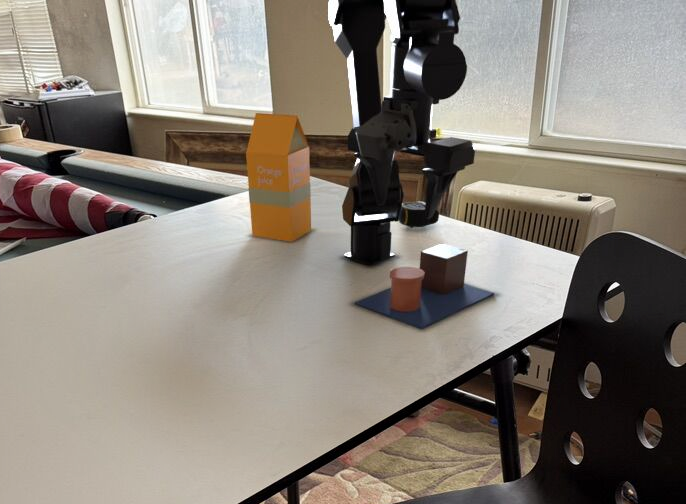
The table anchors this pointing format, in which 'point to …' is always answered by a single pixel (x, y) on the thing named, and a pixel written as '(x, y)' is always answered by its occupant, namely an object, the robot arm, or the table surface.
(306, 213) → the orange juice
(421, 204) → the tape measure
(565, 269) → the table surface
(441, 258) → the walnut block
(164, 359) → the table surface
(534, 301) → the table surface
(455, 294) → the cloth
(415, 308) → the terracotta pot
